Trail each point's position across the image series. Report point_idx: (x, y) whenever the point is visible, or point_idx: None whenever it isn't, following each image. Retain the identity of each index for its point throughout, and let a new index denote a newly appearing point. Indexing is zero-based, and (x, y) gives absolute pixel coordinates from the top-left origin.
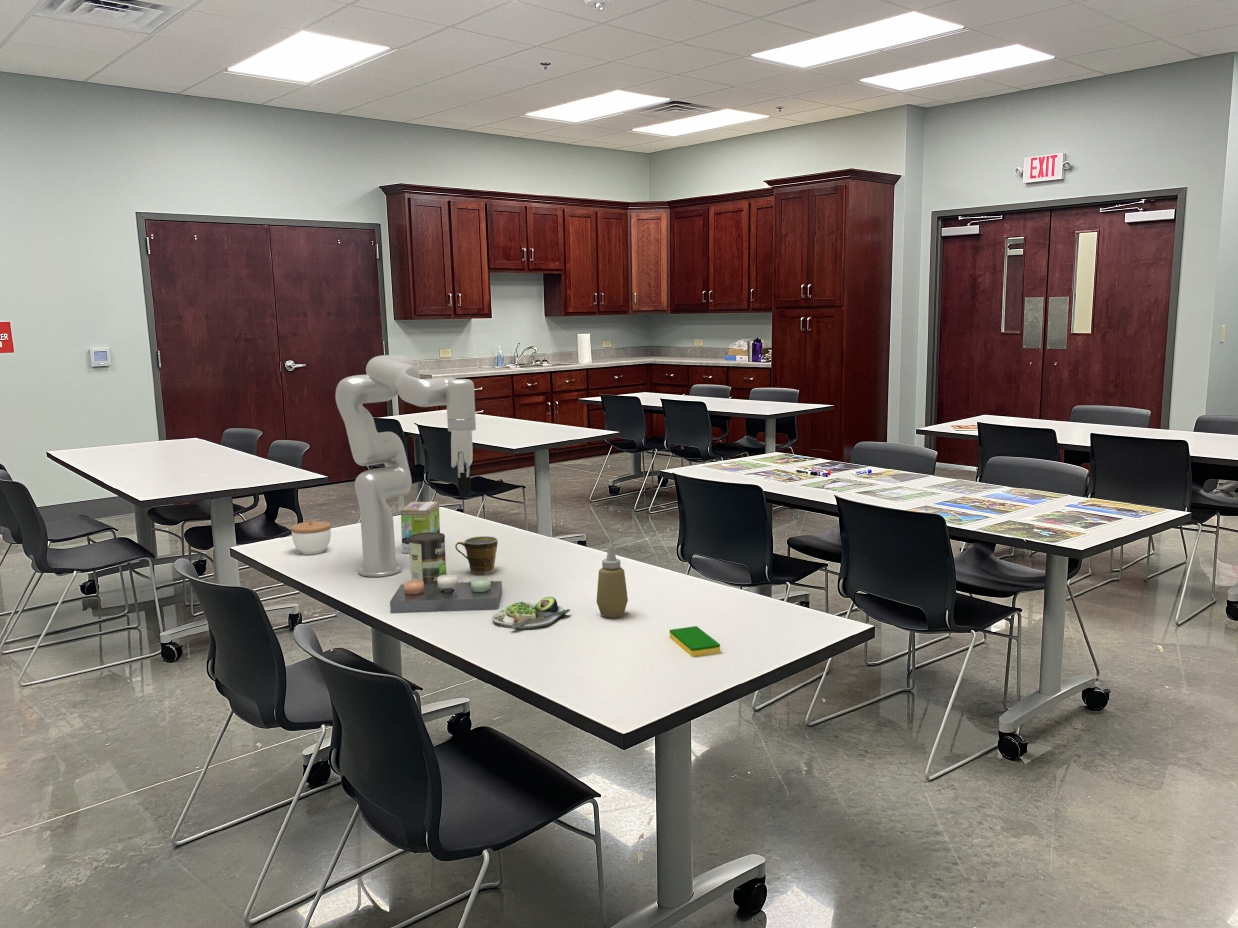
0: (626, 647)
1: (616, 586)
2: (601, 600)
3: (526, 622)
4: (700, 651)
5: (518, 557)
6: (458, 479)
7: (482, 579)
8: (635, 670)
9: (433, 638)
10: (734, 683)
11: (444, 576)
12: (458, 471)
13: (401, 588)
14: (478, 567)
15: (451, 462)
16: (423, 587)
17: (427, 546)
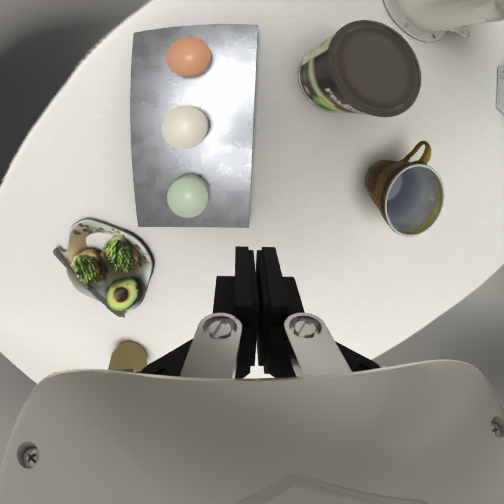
0: (52, 342)
1: None
2: (112, 355)
3: (67, 267)
4: None
5: (440, 241)
6: (236, 298)
7: (196, 201)
8: (19, 337)
9: (30, 147)
10: (28, 375)
11: (190, 120)
12: (185, 365)
13: (224, 29)
14: (371, 177)
15: (23, 413)
16: (186, 76)
17: (324, 66)
